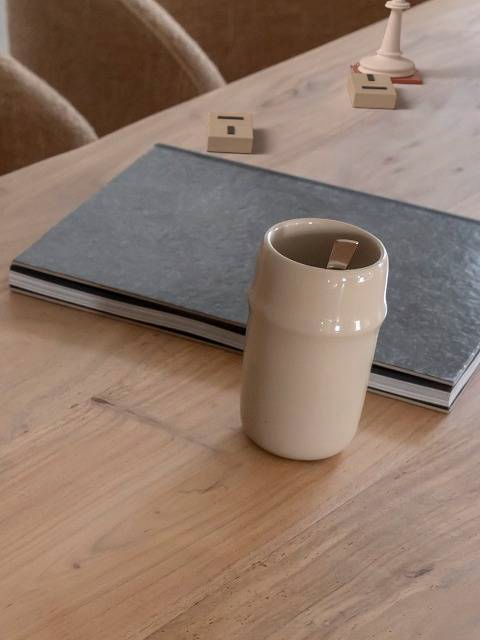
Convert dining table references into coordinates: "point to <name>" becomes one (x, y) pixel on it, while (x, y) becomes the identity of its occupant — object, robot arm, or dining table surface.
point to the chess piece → (390, 48)
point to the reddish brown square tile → (410, 79)
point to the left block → (229, 132)
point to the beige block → (371, 90)
